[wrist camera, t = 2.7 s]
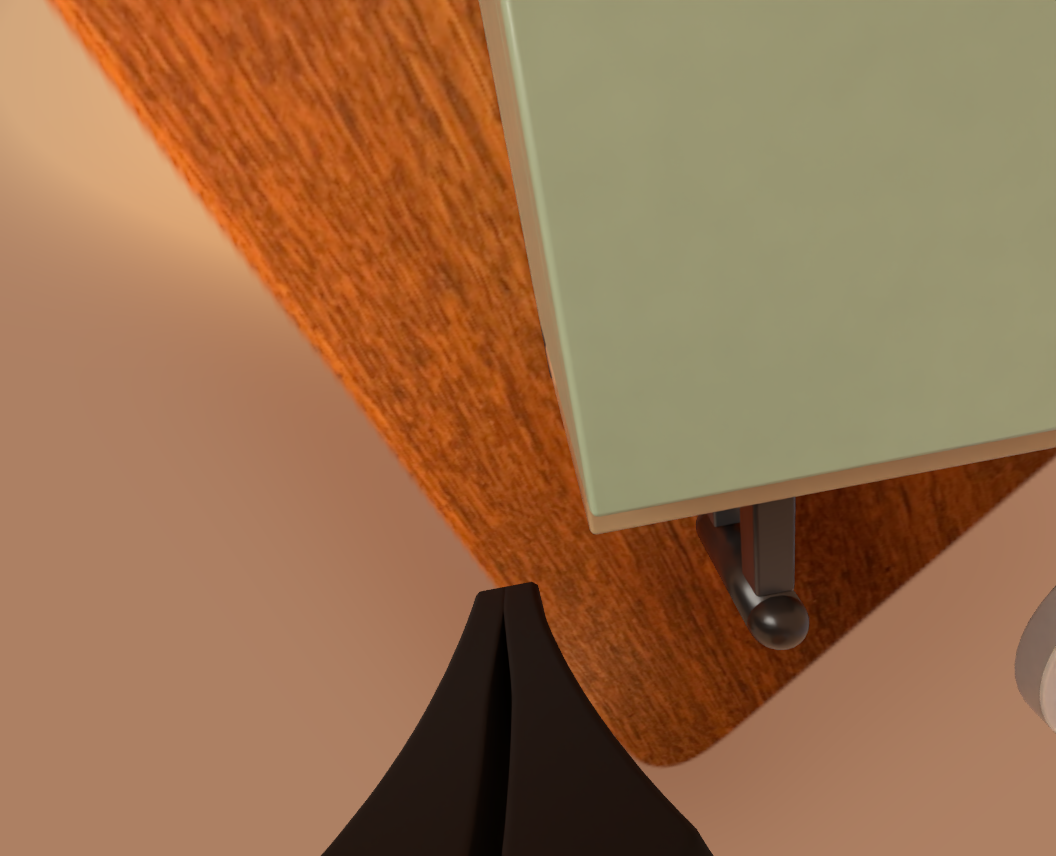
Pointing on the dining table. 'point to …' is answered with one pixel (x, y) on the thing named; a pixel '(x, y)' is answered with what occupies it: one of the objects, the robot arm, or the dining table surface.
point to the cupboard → (783, 230)
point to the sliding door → (780, 529)
